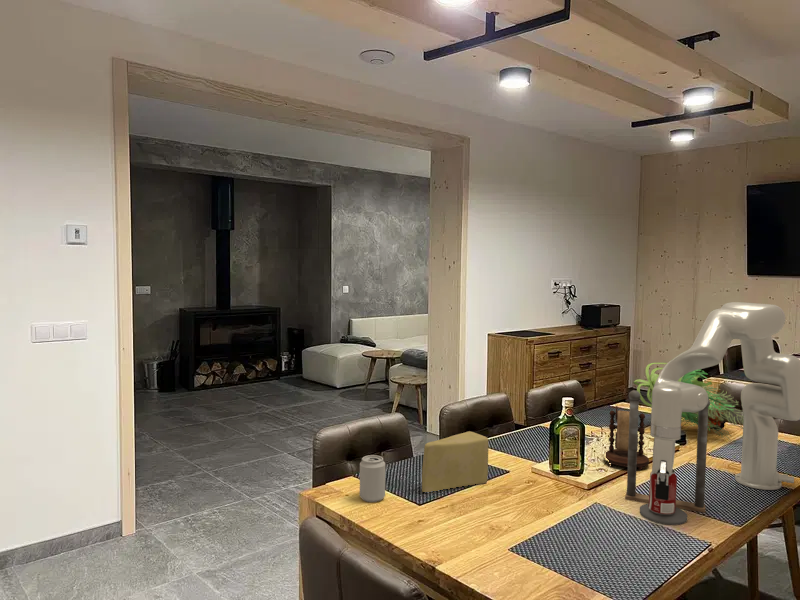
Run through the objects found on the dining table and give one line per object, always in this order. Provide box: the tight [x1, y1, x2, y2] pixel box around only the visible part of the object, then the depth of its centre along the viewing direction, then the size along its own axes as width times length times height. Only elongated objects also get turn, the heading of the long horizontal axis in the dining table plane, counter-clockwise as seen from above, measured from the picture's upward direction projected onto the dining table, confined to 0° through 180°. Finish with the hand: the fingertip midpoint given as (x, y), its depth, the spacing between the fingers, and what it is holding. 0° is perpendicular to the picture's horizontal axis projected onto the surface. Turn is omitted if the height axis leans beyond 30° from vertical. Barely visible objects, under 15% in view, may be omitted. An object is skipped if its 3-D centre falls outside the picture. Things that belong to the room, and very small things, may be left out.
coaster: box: [639, 503, 688, 526], centre depth 166 cm, size 12×12×1 cm
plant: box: [632, 362, 743, 441], centre depth 248 cm, size 35×35×40 cm
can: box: [359, 454, 386, 503], centre depth 176 cm, size 8×8×12 cm
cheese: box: [421, 430, 489, 493], centre depth 186 cm, size 22×10×15 cm, turn 125°
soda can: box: [648, 468, 678, 516], centre depth 165 cm, size 7×7×12 cm
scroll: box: [605, 405, 650, 471], centre depth 207 cm, size 15×15×20 cm
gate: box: [624, 389, 711, 514], centre depth 173 cm, size 21×4×32 cm, turn 64°
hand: (662, 492), depth 165 cm, fingers open, 9 cm apart
